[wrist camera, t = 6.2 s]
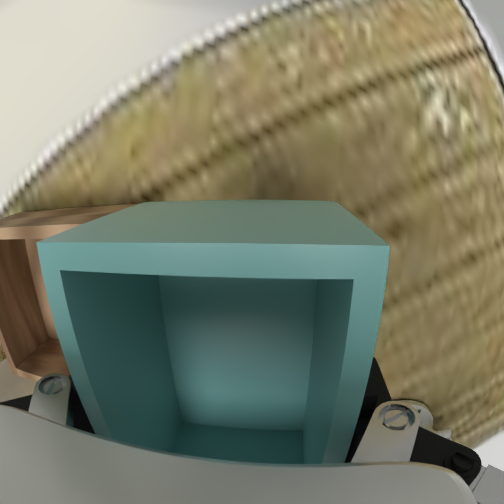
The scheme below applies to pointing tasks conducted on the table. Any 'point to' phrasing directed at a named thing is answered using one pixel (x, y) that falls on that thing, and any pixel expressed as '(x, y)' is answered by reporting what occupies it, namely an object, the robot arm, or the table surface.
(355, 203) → the table surface
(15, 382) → the coffee cup
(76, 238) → the small crate
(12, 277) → the big crate
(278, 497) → the robot arm
